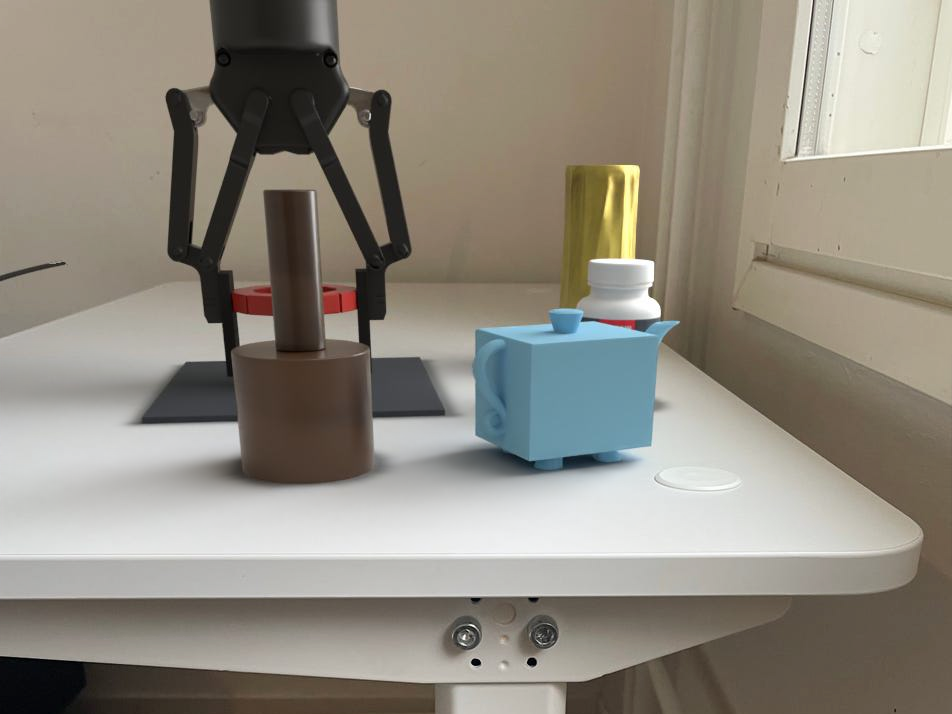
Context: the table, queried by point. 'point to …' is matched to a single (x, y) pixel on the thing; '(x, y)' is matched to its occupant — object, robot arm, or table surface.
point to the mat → (213, 398)
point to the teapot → (566, 388)
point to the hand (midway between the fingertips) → (300, 371)
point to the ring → (260, 299)
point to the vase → (596, 223)
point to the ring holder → (301, 367)
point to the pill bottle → (620, 294)
